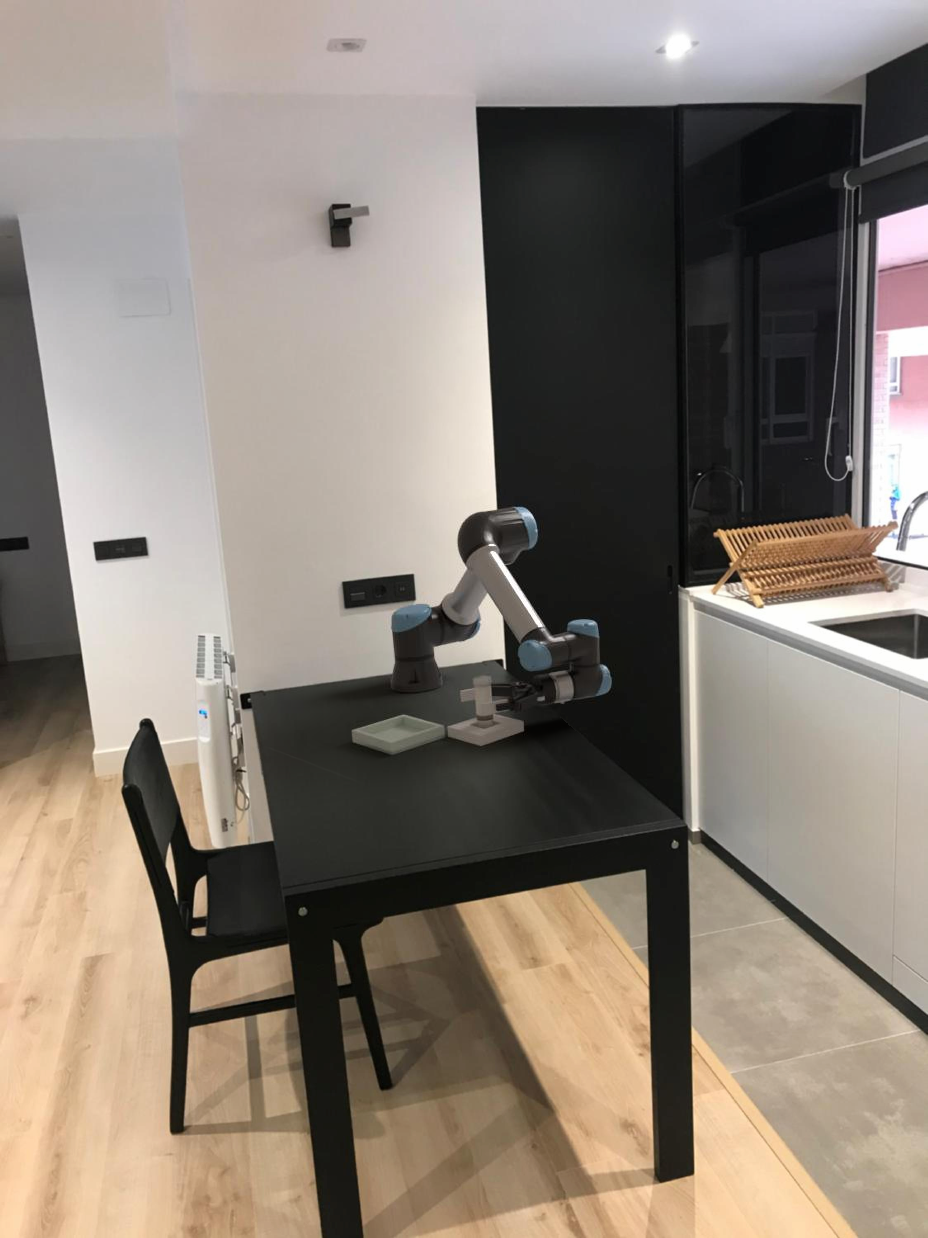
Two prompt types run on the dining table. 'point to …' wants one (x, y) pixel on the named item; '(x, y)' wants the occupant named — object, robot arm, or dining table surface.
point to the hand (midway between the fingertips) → (471, 702)
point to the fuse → (483, 700)
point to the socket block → (485, 730)
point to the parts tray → (398, 734)
